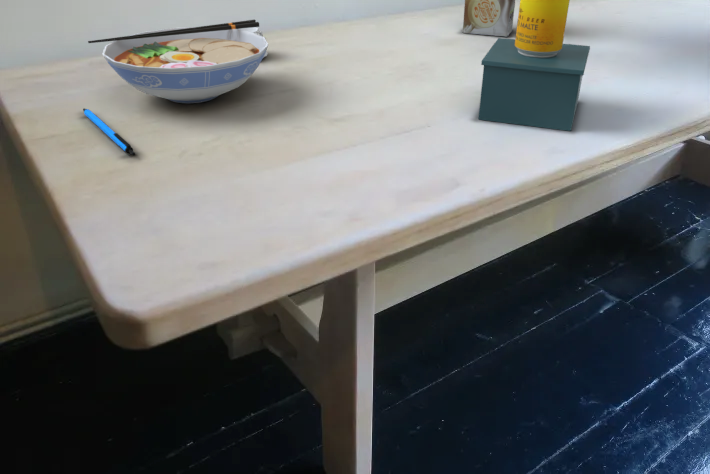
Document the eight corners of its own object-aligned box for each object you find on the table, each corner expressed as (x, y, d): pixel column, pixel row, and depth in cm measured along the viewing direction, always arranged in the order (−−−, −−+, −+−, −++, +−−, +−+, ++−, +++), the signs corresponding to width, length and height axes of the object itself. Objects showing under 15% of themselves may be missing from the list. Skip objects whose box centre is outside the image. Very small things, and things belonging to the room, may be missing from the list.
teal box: (580, 102, 95) (590, 45, 91) (573, 132, 85) (584, 70, 81) (492, 92, 99) (498, 37, 95) (475, 120, 89) (481, 60, 85)
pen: (130, 158, 77) (128, 149, 76) (80, 112, 90) (79, 104, 90) (137, 156, 77) (136, 147, 77) (87, 111, 91) (85, 103, 90)
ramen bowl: (115, 135, 83) (103, 71, 79) (94, 84, 101) (83, 30, 97) (301, 107, 93) (299, 48, 89) (251, 65, 111) (247, 15, 106)
